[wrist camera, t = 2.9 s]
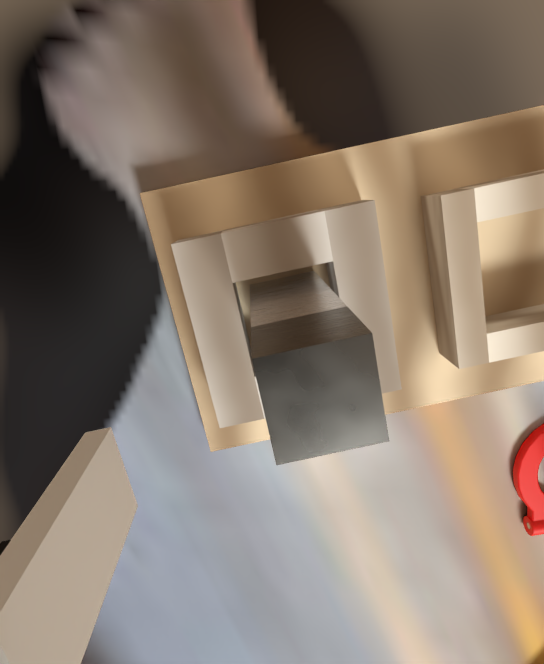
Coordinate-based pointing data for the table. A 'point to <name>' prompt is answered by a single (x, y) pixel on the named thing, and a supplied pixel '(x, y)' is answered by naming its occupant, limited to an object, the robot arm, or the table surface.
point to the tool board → (397, 242)
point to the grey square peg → (314, 369)
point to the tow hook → (531, 480)
